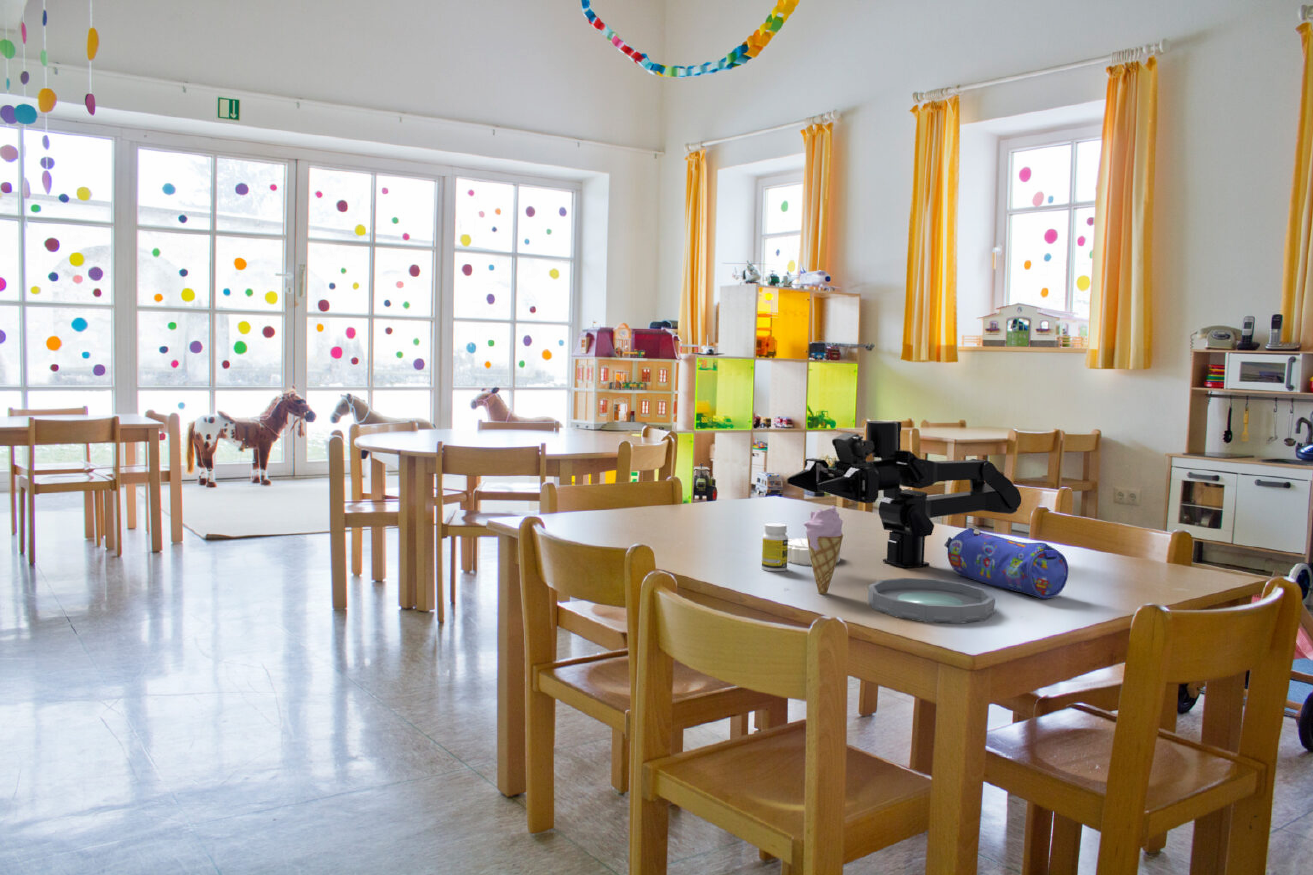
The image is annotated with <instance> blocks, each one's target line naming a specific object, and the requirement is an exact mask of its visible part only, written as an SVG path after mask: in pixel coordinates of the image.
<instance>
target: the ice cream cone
mask: <svg viewBox="0 0 1313 875" xmlns="http://www.w3.org/2000/svg"><path fill="white" fill-rule="evenodd" d="M809 515H810V516H809V517H810V518H809V520H808V521H806V522H804V523H803V526H804V527H805V528H806V530H805V533H806V538H807V540H808V547H809V553H810V558H811V563H812V565H811V567H812V571H813V575H814V580H815V585H816V587H817V588H816V589H817V591H818V594H820V595H827V594H828V590H829V588H830V585H831V582H832V578H833V576H834V573H835V569H836V566H837V563H838V562H837V559H838V555H839V552H840V553H841V547H842V541H843V537H844V534H843V532H842V526H843V523H844V521H843V519H842V518H841V517H840V514H839V513H838V511H837V507H836V506H835V505H830V508H827V509H817V510H816V511H811V512H810V514H809Z"/></svg>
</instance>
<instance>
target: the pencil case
mask: <svg viewBox="0 0 1313 875" xmlns="http://www.w3.org/2000/svg"><path fill="white" fill-rule="evenodd" d="M943 546H945V548H947V559H948V562H949V564H950V566H951V568H952V569H953V570H954V572H955V573H957V574H958V575H960V576H962V577H964V578H966V579H970V580H974V581H977V582H979V583H983V584H986V585H987V584H988V585H990V586H993V587H996V588H1000V589H1005V590H1008V591H1009V590H1010V591H1012V592H1013V591H1014V592H1017V593H1018V592H1019V593H1023V594H1027V595H1029V596H1030V595H1031V596H1035V597H1037V598H1039V599H1050V598H1052V597H1055V596H1058V595H1059V594H1060V593H1061V592H1062V591H1063V589H1064V588H1065V586H1066V585H1067V582H1068V578H1069V564H1068V561H1067V558H1066V557H1065V555H1064V554H1062V553H1061V552H1060V551H1059V550H1057V549H1056V548H1055V547H1052V546H1051V545H1049V544H1047V543H1045V542H1023V541H1016V540H1013V539H1012V540H1011V539H1009V538H1005V537H1001V536H997V535H994V534H988V533H985V532H981V531H980V528H979V529H978V526H975V525H973V527H972V528H971V527H968V528H966V529H964V530H962V531H961V532H958V534H956V535H954V536H953V538H952V537H950V536H949V537H948V538H947V540H946V541H945V543H944V545H943Z"/></svg>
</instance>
